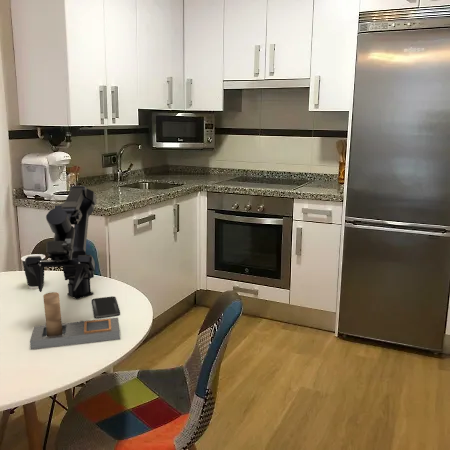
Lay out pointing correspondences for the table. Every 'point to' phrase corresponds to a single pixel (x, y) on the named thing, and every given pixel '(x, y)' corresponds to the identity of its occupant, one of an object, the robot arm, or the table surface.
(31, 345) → the plate with square holes
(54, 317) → the peg
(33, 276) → the dixie cup
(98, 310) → the phone
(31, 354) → the table surface
